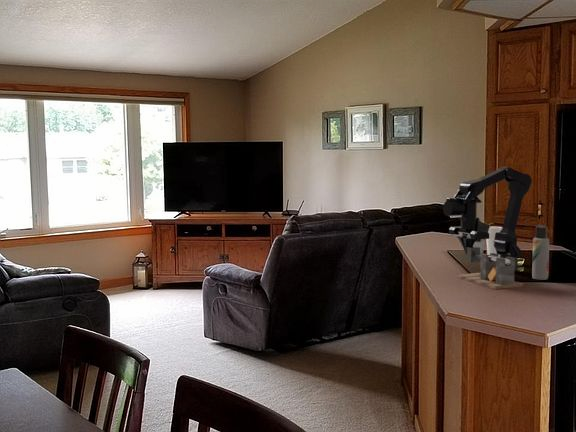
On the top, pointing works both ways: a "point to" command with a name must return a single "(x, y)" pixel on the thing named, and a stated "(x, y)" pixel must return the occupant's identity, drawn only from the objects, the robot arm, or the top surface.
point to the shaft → (475, 255)
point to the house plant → (480, 243)
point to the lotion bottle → (540, 254)
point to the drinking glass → (492, 239)
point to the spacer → (492, 274)
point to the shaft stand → (502, 273)
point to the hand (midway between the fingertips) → (468, 254)
